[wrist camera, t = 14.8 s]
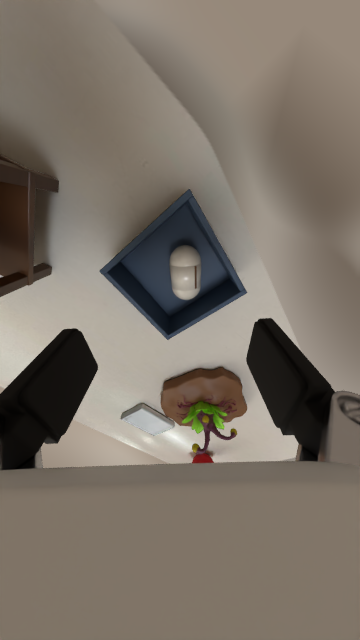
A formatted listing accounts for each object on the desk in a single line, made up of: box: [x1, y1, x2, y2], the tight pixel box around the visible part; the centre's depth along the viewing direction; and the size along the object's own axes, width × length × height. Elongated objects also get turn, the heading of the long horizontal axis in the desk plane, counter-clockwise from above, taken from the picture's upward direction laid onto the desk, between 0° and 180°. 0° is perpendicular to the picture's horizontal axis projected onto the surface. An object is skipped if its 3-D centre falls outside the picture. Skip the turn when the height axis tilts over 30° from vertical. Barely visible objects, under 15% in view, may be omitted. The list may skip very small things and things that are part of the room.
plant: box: [161, 367, 247, 454], centre depth 35 cm, size 20×20×11 cm
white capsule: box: [169, 245, 201, 300], centre depth 21 cm, size 7×4×4 cm
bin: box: [100, 189, 247, 340], centre depth 21 cm, size 12×12×6 cm
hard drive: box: [121, 403, 175, 436], centre depth 45 cm, size 2×8×12 cm
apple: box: [192, 453, 214, 463], centre depth 55 cm, size 8×8×10 cm
